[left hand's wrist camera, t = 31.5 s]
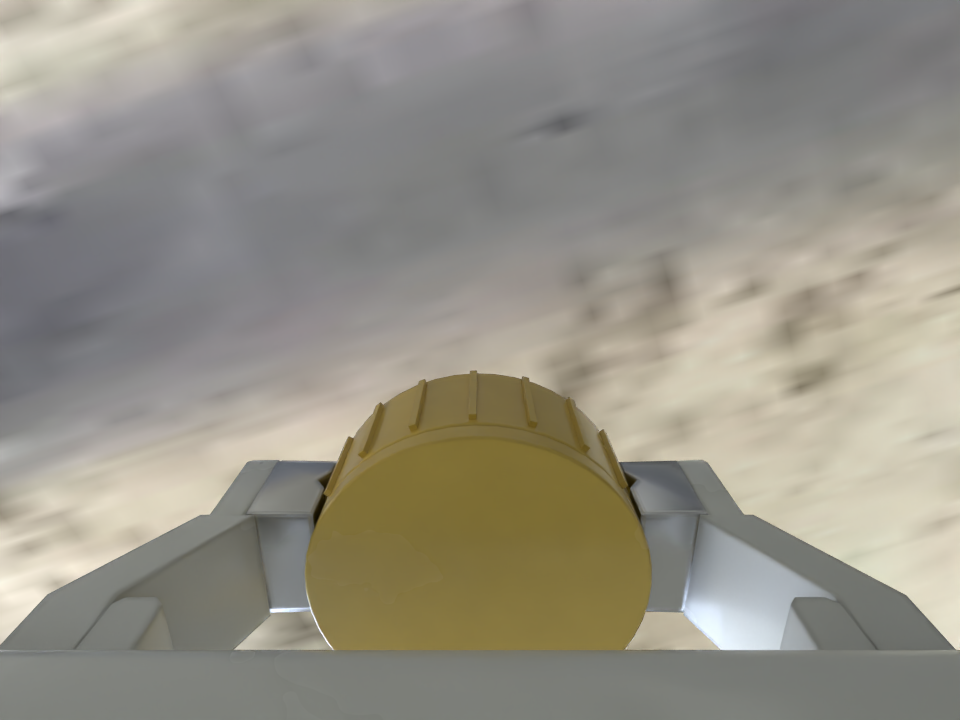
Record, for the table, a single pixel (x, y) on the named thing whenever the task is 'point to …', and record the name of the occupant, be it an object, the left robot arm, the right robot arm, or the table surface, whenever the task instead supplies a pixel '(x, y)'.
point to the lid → (478, 526)
